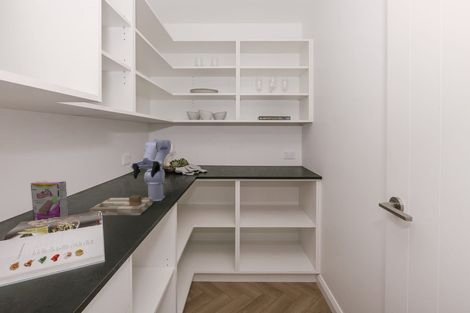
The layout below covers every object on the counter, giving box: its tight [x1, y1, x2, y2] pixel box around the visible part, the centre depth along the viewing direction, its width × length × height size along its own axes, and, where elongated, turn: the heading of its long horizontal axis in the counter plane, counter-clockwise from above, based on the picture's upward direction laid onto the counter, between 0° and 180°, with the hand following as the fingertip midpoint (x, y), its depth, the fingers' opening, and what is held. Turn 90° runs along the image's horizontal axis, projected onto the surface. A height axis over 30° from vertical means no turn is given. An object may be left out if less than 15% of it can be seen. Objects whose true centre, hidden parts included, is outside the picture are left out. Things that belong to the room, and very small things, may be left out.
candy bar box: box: [30, 180, 69, 221], centre depth 97 cm, size 11×5×16 cm, turn 92°
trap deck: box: [89, 197, 154, 216], centre depth 112 cm, size 18×22×3 cm
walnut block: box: [128, 194, 142, 206], centre depth 108 cm, size 4×4×4 cm
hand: (143, 176), depth 106 cm, fingers open, 7 cm apart
